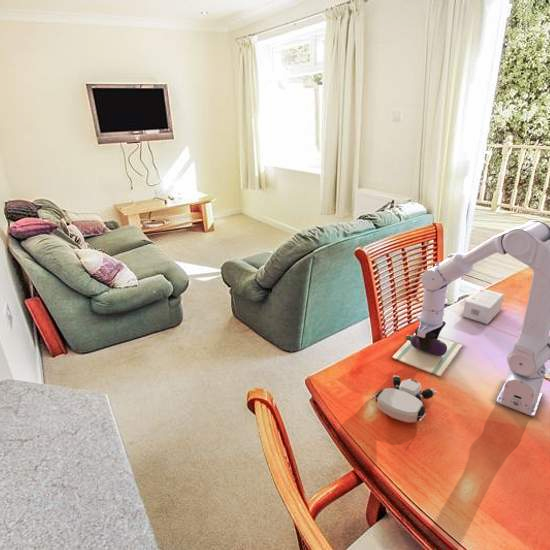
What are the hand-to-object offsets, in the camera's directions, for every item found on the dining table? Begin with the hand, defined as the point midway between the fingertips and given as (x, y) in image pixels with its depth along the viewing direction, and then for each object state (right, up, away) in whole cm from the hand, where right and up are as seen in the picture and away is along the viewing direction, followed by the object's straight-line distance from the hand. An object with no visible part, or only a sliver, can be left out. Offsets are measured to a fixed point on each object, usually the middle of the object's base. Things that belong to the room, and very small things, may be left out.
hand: (428, 346), depth 112 cm
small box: (+21, +9, +13) cm, 27 cm away
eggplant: (0, -1, +1) cm, 2 cm away
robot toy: (-14, -11, -18) cm, 25 cm away
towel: (0, -2, +1) cm, 2 cm away
